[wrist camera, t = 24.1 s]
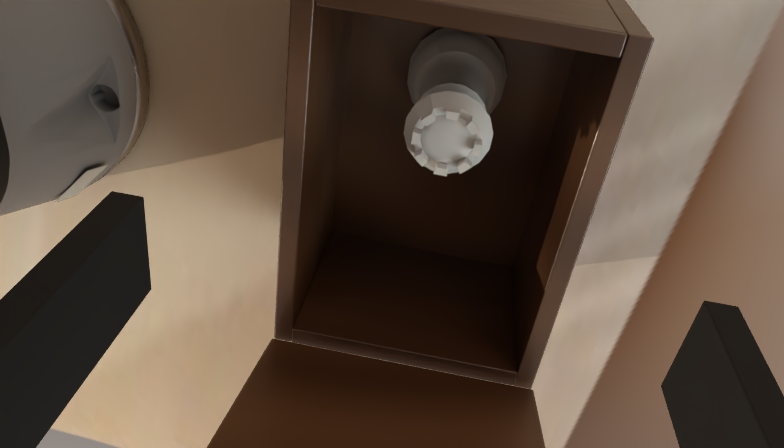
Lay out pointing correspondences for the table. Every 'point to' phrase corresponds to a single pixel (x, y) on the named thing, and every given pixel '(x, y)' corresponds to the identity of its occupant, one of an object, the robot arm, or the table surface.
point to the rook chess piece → (453, 99)
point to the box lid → (371, 406)
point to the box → (445, 181)
